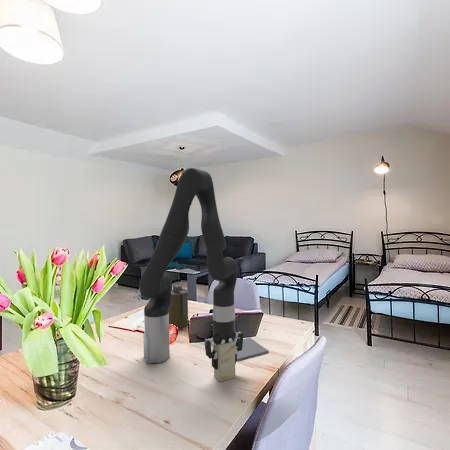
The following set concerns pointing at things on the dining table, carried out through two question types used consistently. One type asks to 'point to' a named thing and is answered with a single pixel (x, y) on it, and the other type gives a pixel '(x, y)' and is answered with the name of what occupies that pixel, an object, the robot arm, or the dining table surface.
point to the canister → (179, 307)
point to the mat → (250, 349)
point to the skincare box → (225, 361)
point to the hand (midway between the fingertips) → (224, 365)
